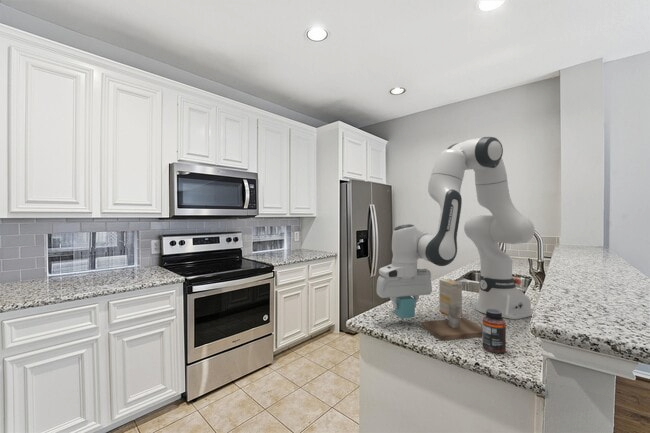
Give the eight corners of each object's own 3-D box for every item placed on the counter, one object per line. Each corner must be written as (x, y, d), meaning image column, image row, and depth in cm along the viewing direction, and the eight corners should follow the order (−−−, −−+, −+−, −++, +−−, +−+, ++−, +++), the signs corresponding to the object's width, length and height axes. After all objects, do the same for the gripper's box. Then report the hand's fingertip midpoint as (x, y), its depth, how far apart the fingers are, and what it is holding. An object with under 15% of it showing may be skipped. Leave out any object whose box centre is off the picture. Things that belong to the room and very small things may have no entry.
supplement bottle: (497, 344, 88) (498, 307, 88) (510, 354, 83) (511, 314, 82) (478, 344, 88) (478, 307, 88) (489, 354, 82) (490, 314, 82)
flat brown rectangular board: (465, 322, 106) (465, 299, 106) (490, 335, 95) (491, 309, 94) (420, 325, 103) (421, 301, 102) (441, 340, 91) (441, 313, 91)
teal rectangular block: (407, 312, 108) (407, 294, 108) (414, 317, 103) (414, 298, 103) (394, 313, 107) (394, 295, 107) (401, 318, 102) (401, 299, 102)
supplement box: (462, 317, 112) (462, 283, 111) (451, 318, 111) (451, 283, 110) (449, 310, 120) (449, 278, 119) (438, 310, 119) (438, 278, 118)
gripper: (426, 266, 110) (426, 303, 110) (374, 269, 106) (374, 307, 106) (435, 270, 103) (435, 308, 104) (381, 273, 99) (381, 313, 100)
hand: (404, 307), depth 105 cm, fingers closed on teal rectangular block, 5 cm apart
